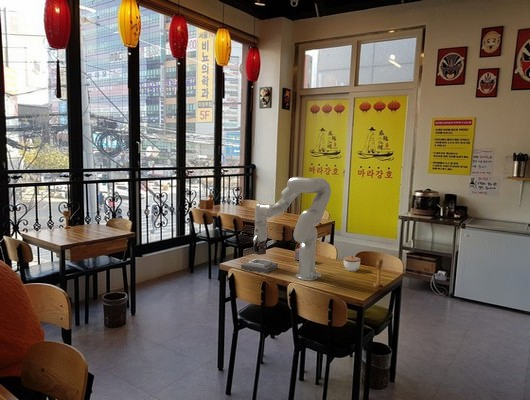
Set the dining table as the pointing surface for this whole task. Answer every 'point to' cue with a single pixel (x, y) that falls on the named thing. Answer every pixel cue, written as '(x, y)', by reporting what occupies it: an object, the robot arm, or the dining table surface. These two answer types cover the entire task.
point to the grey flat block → (259, 265)
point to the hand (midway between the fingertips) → (259, 250)
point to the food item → (297, 254)
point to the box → (260, 248)
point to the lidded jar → (351, 263)
